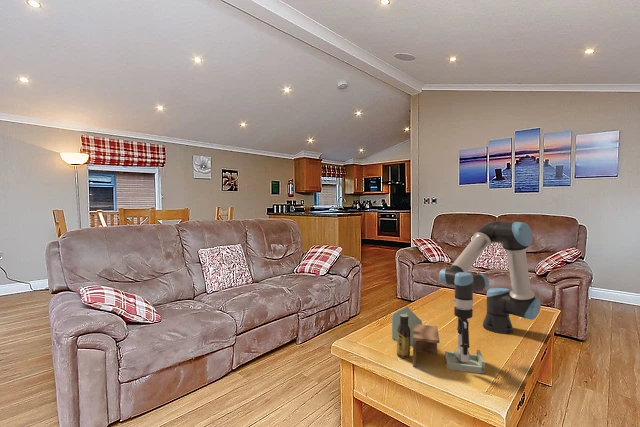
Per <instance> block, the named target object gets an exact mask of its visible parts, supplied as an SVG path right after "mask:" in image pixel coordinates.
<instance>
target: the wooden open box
mask: <svg viewBox="0 0 640 427" xmlns="http://www.w3.org/2000/svg"><path fill="white" fill-rule="evenodd" d="M440 342H441V341H440V335H439V331H438V326H437V325H429V324H428V325H427V324H426V325H425V324H422V325H419V324H414V326H413V346H412V368H416V367H417V353H423V354H424V353H425V354H431V355H432V354H433V355H438V344H440Z"/></svg>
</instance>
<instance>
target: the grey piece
mask: <svg viewBox="0 0 640 427" xmlns="http://www.w3.org/2000/svg"><path fill="white" fill-rule="evenodd" d="M400 314H407V315H408V316H409V319H408V326H409V328H410V346H412V347H413V326H414V324H419V325H423V323H422V320H421V319H420V317H418V316H417V315H416V314H415V313H414V312H413V311H412V310H411V308H409V306H407V305H405V306H404V307H402V308H400V309H398V310H397V311H395V312H393V313H392V314H391V317H392V318H391V319H392V320H391V322H392V323H391V340H392V339H395V340H397V330H398V327H399V324H400ZM395 340H394V341H395Z"/></svg>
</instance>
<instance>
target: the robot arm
mask: <svg viewBox="0 0 640 427" xmlns="http://www.w3.org/2000/svg"><path fill="white" fill-rule="evenodd" d="M532 242H533V232H532V229H531V227H530V226H529V224H527V223H526V222H522V221H521V222H520V221H505V220H503V221H501V220H493V221H490V222H488V223H485V224H484V225H482V226H481V227H479V228H478V229H477V230H476V231H475V232H474V234H473V235H472V240H470V242H469V243H468V244H467V246H466V247H465V248H463V251H462V252H461V253H460V254H459V255H458V257H457V258H456V259H455V260H454V262H452V264H451V265H450V267H449V268H442V269H440V271H439V273H438V279H439V281H440V283H442V284H445V285H447V286H453V287H454V298H453V299H452V301H453V303H454V311H453V312H454V316H455V317H457V328H456V330H457V348H458V347H459V346H460V347H462V348H461V361H464V362H468V351H469V348H470V347H471V346H470V335H469V334H470V333H469V325H470V324H469V323H470V322H469V321H468V319H471V318H473V313H474V312H473V311H474V310H473V307H474V306H473V305H474V293H477V292H481V291H484V290H486V289H487V291H486V313H485V316H484V319H483V322H482V327H483V328H484V329H485V330H487V331H489V332H493V333H496V334H497V333H498V334H509V333H513V331H514V330H513V329H514V328H513V324H512V320H511V317H510V315H513V316H517V317H520V318H523V319H527V320H531V321H533V320H535V319H536V318H537V317H538V316H539V314H540V311H541V306H542V302H541V300H540V299H539V298H538V297H537V298H536V295H535V292H534V291H533V290H532V289H531V283H530V282H531V281H530V275H529V267H528V260H527V252H526V250H527V249H528V248H529V246H530V245H531V244H532ZM494 243H499V244H502V249H503V250H504V251H506V256H507V262H508V271H509V277H510V284H511V290H510V289H509V288H506V287H491V288H489V285H490V280H489V278H488V277H487V275H485V274H484V273H476V274H475V273H470V272H469V269H470V268H471V267H472V266H473V264H474V263H475V262H476V261H477V259H478V258H479V257H480V256H481V254H482V253H483V251H484V250H485V249H486V248H488V247H490V246H491V244H494ZM488 288H489V289H488ZM469 352H470V351H469Z"/></svg>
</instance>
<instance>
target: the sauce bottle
mask: <svg viewBox="0 0 640 427" xmlns="http://www.w3.org/2000/svg"><path fill="white" fill-rule="evenodd" d="M408 319H409V316H408V315H407V313H406V314H400V324H399V327H398V330H397V341H396V355H397V357H399V358H400V359H407V358H409V357H410V356H411V355H410V354H411V345H410V328H409V326H408Z"/></svg>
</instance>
